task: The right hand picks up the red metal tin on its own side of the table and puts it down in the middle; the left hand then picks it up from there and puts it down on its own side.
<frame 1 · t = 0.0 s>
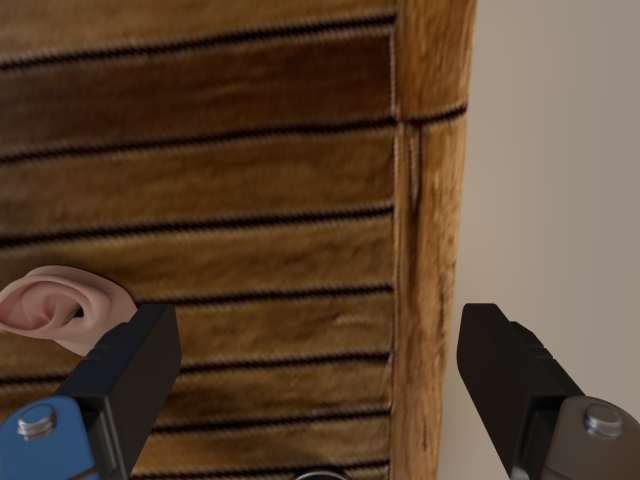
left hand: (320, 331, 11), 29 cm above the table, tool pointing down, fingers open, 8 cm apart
anatomical model: (84, 310, 45), on the table
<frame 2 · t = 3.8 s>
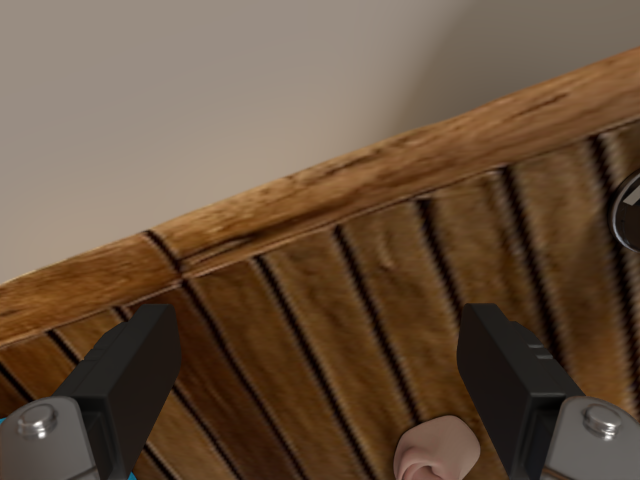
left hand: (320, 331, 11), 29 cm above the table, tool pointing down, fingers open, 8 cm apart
anatomical model: (433, 455, 53), on the table
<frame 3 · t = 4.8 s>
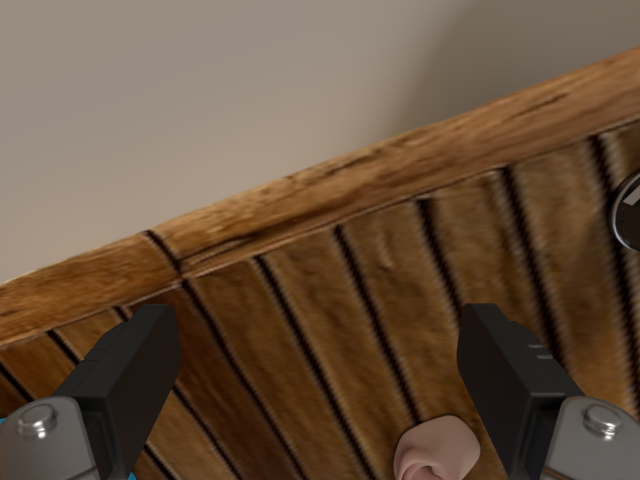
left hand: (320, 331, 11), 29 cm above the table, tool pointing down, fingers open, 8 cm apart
anatomical model: (433, 455, 53), on the table
when the right hand's fingers open (1 cm above the table, at t = 6.2 s): tin stays where it is, on the table.
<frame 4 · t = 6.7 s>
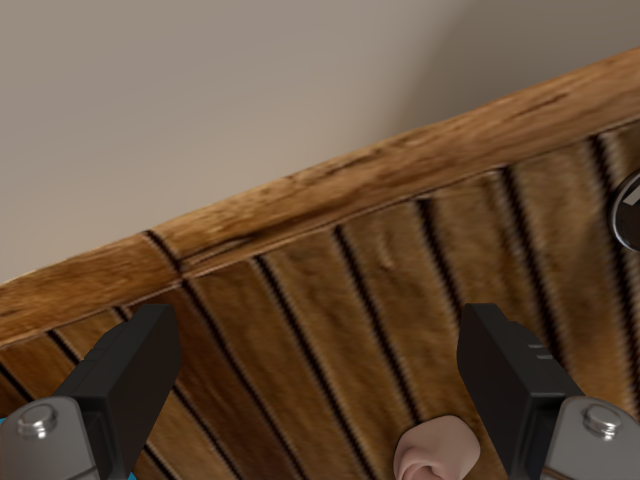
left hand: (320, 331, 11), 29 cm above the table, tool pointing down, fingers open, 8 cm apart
anatomical model: (433, 455, 53), on the table
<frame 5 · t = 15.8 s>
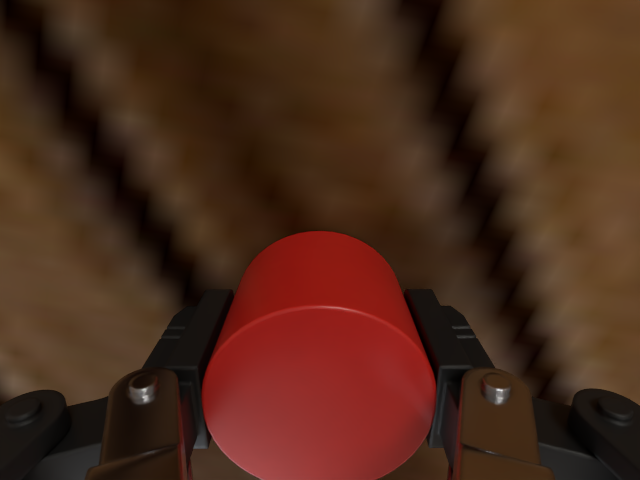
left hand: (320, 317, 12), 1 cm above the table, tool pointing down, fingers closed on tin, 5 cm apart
tin: (319, 306, 13), on the table, touching left hand
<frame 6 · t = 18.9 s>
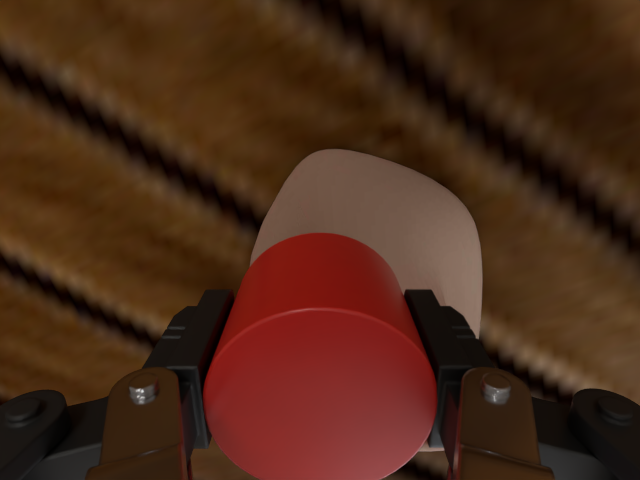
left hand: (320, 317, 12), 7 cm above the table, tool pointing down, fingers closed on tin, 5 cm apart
tin: (320, 308, 13), point 7 cm above the table, touching left hand
anatomical model: (369, 288, 20), on the table
when the left hand's fingers open (2 cm above the table, at t = 22.5 s): tin stays where it is, on the table.
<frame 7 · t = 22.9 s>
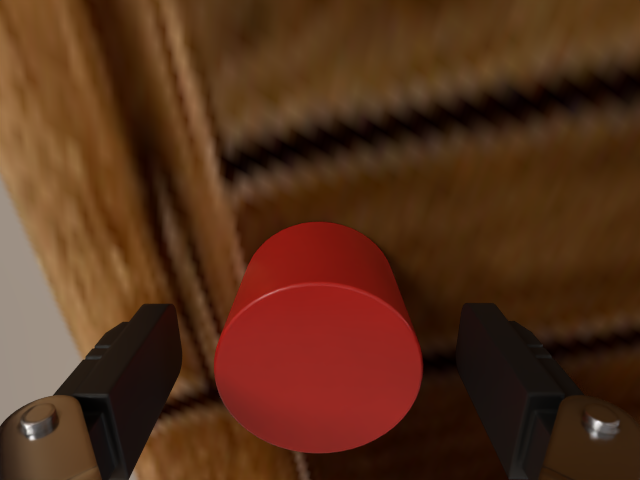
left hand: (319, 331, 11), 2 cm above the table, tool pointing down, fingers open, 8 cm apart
tin: (319, 292, 14), on the table
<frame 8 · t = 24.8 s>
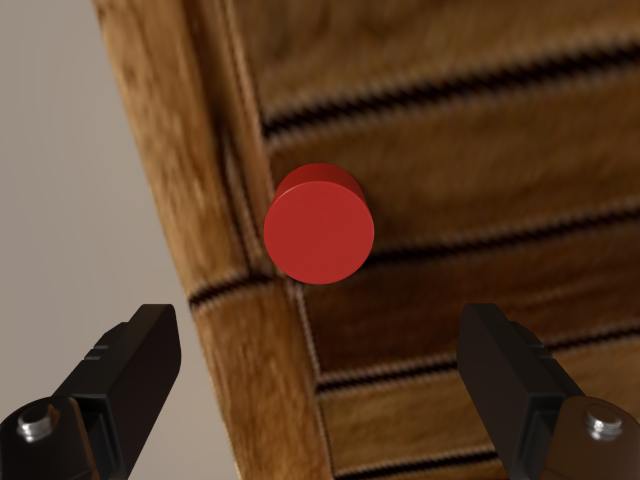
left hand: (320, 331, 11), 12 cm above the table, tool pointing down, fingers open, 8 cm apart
tin: (319, 208, 23), on the table
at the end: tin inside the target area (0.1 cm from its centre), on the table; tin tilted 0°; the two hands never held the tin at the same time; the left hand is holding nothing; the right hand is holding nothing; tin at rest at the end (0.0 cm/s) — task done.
